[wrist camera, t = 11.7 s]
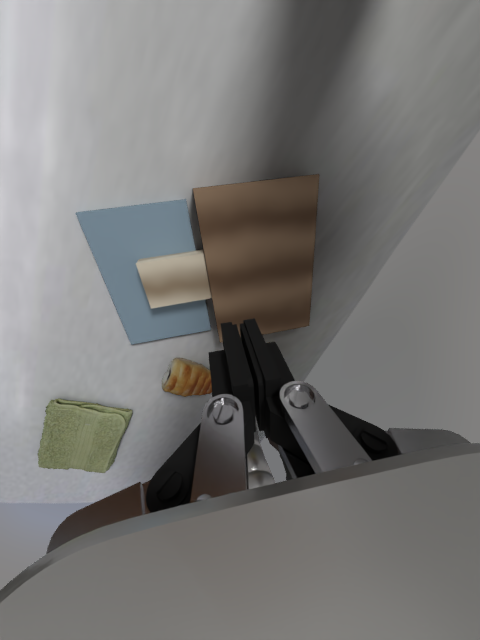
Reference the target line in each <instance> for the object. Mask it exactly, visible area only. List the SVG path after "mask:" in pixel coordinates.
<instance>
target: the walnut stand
mask: <svg viewBox="0 0 480 640" xmlns="http://www.w3.org/2000/svg"><path fill="white" fill-rule="evenodd" d="M318 186H319V174H315V175H306V176H297V177H288V178H280V179H271V180H262V181H254V182H245V183H236V184H228V185H219V186H210V187H202V188H193V193H194V199H195V205H196V210H197V216H198V221H199V227H200V233H201V238H202V244H203V250H204V255H205V261H206V267H207V272H208V278H209V284H210V289H211V295H212V301H213V306H214V312H215V317H216V323H217V329H218V334H219V339H220V343H221V342H223V339H222V331H221V323H227V322H232V325H234V324H237V328H238V331H239V334H240V323H243V320H247V319H255V320H256V322H257V324H258V327H259V329H260V331H261V334H262V335H263V334H269V333H274V332H279V331H285V330H290V329H295V328H300V327H306V326H309V322H310V307H311V292H312V277H313V262H314V247H315V231H316V216H317V201H318ZM240 338H241V336H240Z"/></svg>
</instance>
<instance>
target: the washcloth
mask: <svg viewBox="0 0 480 640" xmlns="http://www.w3.org/2000/svg"><path fill="white" fill-rule="evenodd" d="M46 408H47V409H46V411H45V412H46V414H47V415H46V417H45V420H44V421H45V422H44V429H43V433H42V439H41V441H40V448H39V451H38V452H39V453H38V459H39V461H38V464H39V467H42V468H48V469H50V468H53V469H57V468H58V469H69V468H73V469H82V470H85V471H89V472H97V473H98V472H99V473H105V472H106V471H107V470H109V468H110V466H111V465H112V464H113V462H114V459H115V457H116V454H117V448H118V445H119V443H120V440H121V439H122V435H123V434H124V433H125V429H127V426H128V424H129V423H128V422H129V420H130V418H131V415H132V410H129V409H121V408H113V407H106V406H102V405H99V404H93V403H87V402H78V401H67V400H62V399H55V400H51V401H50V402H49V404H48V406H47V407H46Z"/></svg>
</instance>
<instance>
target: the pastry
mask: <svg viewBox="0 0 480 640" xmlns="http://www.w3.org/2000/svg"><path fill="white" fill-rule="evenodd" d="M162 388H163V390H164V391H165V392H170V393H173V394H176V395H181V396H184V397H186V396H192V395H205V394H210V393H212V385H211V374H210V370H208V369H207V368H205V367H204V366H203V365H202V364H198V363H195V362H192V361H190V360H187V359H183V358H174V359H173V361H171V363H170V364H169V367H168V370H167V372H166V373H165V374H164V376H163V378H162Z"/></svg>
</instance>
